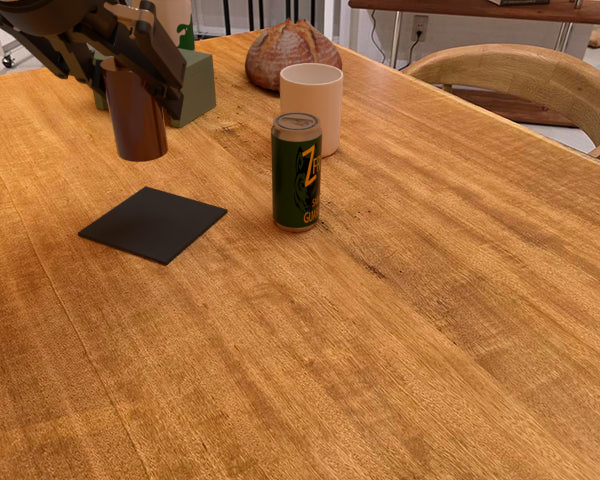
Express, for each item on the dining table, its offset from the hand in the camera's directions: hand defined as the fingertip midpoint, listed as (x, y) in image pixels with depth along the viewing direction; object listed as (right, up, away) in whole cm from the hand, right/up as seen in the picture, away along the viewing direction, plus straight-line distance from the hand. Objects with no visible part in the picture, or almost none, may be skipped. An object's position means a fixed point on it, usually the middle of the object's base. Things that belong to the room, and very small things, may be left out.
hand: (152, 105), depth 62 cm
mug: (+17, +2, +23) cm, 28 cm away
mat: (-1, -12, +5) cm, 13 cm away
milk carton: (-7, +19, +42) cm, 47 cm away
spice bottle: (-1, -5, -1) cm, 5 cm away
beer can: (+15, -12, +6) cm, 20 cm away
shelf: (-7, +10, +32) cm, 34 cm away
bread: (+14, +19, +43) cm, 49 cm away
